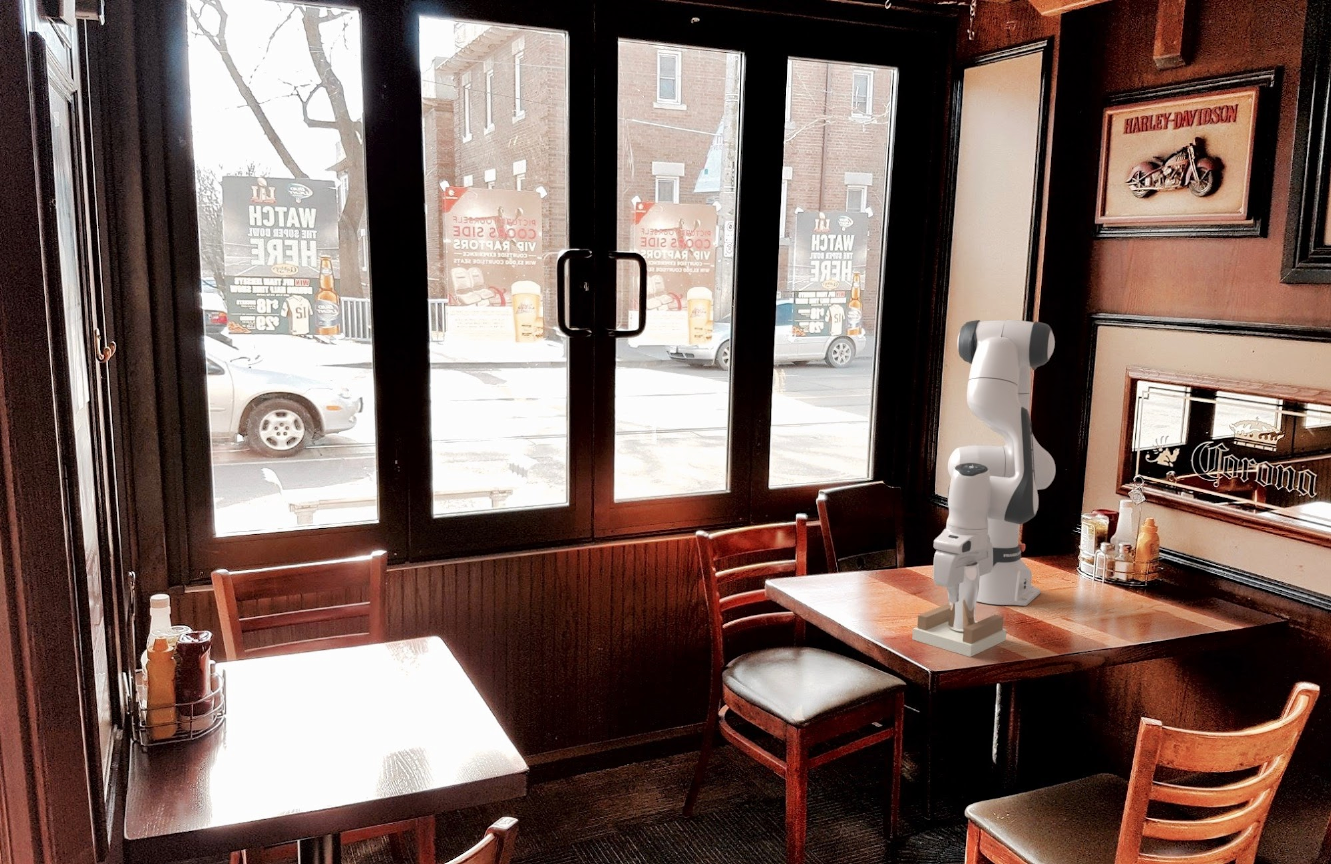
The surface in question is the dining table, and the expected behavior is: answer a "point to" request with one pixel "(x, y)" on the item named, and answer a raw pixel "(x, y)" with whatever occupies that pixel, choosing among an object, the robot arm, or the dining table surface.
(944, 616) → the stand
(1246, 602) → the dining table surface
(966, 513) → the robot arm
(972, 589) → the beer glass
